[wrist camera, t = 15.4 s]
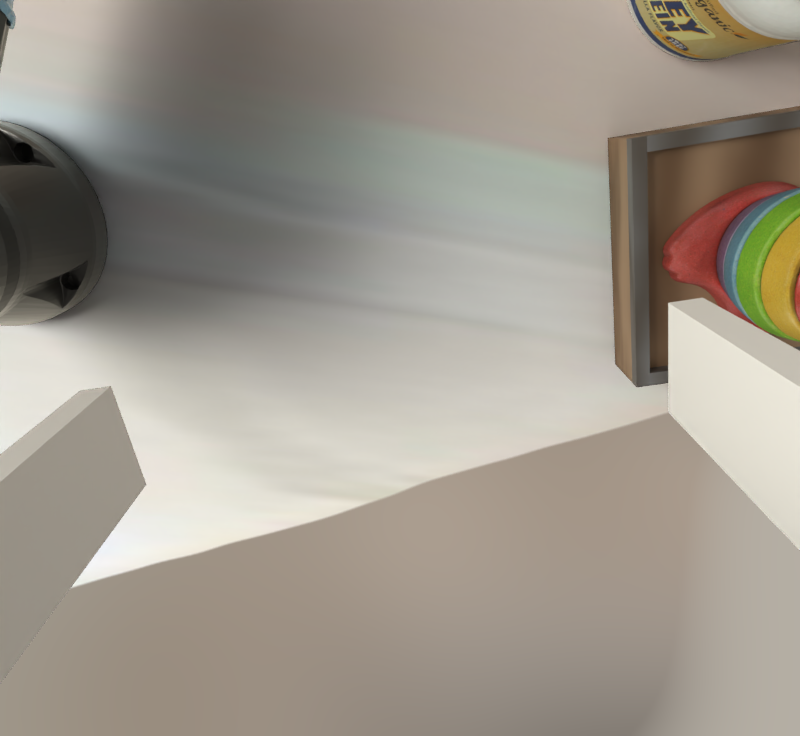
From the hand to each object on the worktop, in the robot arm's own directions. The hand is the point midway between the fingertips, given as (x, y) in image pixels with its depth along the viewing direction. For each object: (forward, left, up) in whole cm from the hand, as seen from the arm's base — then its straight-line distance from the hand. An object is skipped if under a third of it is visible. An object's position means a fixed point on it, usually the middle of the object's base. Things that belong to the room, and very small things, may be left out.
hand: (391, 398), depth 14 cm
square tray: (+25, -6, -35) cm, 43 cm away
